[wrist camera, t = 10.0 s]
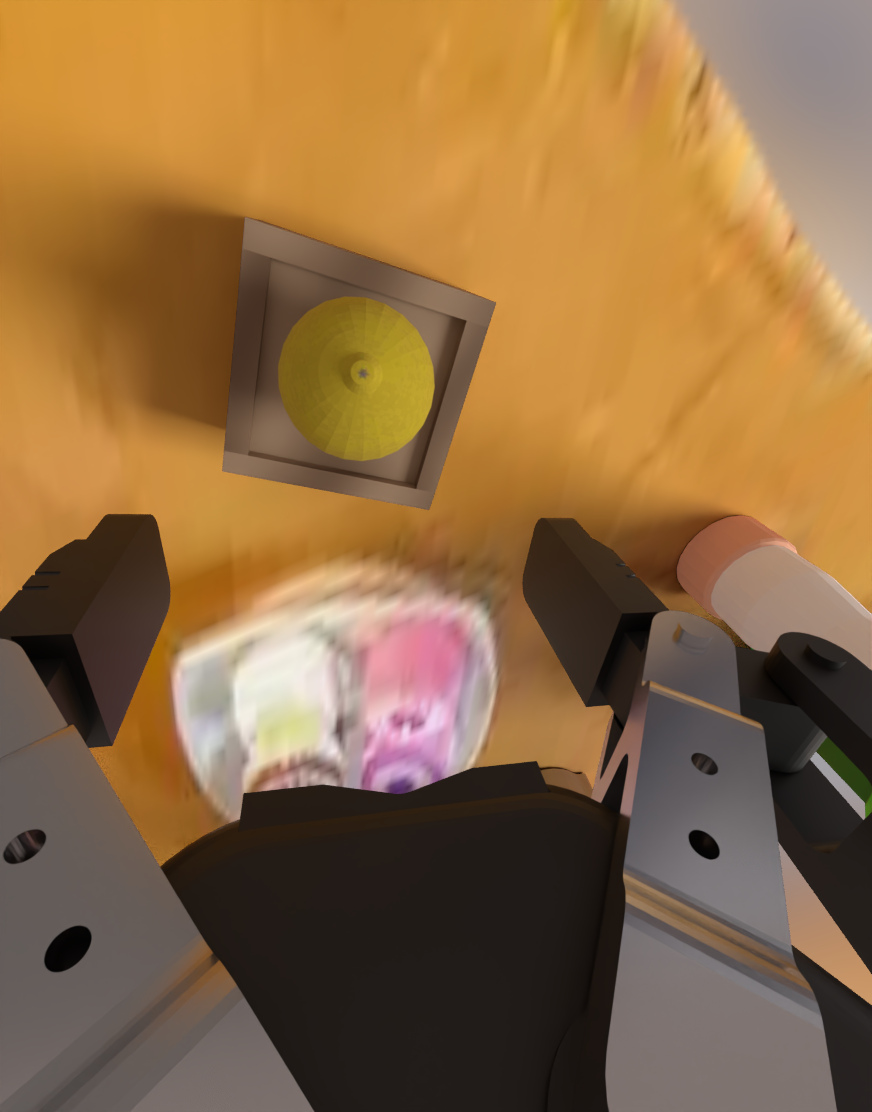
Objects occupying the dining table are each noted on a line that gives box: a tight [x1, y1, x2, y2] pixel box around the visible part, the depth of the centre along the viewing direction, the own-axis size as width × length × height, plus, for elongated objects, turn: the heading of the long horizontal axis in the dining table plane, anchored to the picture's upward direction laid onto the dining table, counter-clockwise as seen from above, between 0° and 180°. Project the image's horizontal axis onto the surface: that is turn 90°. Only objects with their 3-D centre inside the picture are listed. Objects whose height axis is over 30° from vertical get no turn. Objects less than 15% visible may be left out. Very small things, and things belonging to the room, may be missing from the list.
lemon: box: [278, 297, 435, 461], centre depth 18 cm, size 6×6×8 cm
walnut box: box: [222, 217, 496, 510], centre depth 24 cm, size 10×10×6 cm
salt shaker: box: [677, 515, 872, 670], centre depth 31 cm, size 7×7×19 cm
